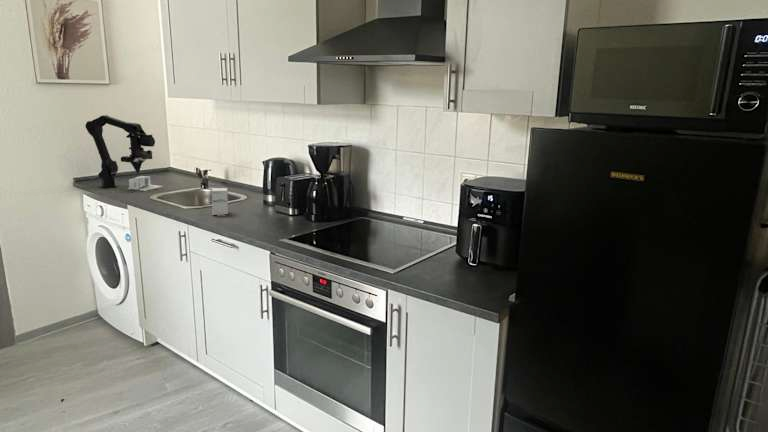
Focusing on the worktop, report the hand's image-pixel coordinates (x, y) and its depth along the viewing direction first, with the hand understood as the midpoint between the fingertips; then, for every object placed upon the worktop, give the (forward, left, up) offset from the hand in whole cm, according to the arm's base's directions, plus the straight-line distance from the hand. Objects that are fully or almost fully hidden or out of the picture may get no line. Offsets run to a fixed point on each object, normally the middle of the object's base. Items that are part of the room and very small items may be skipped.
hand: (137, 172), depth 302 cm
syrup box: (-1, -4, -7) cm, 8 cm away
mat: (0, +5, -10) cm, 11 cm away
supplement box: (+76, -29, -10) cm, 82 cm away
